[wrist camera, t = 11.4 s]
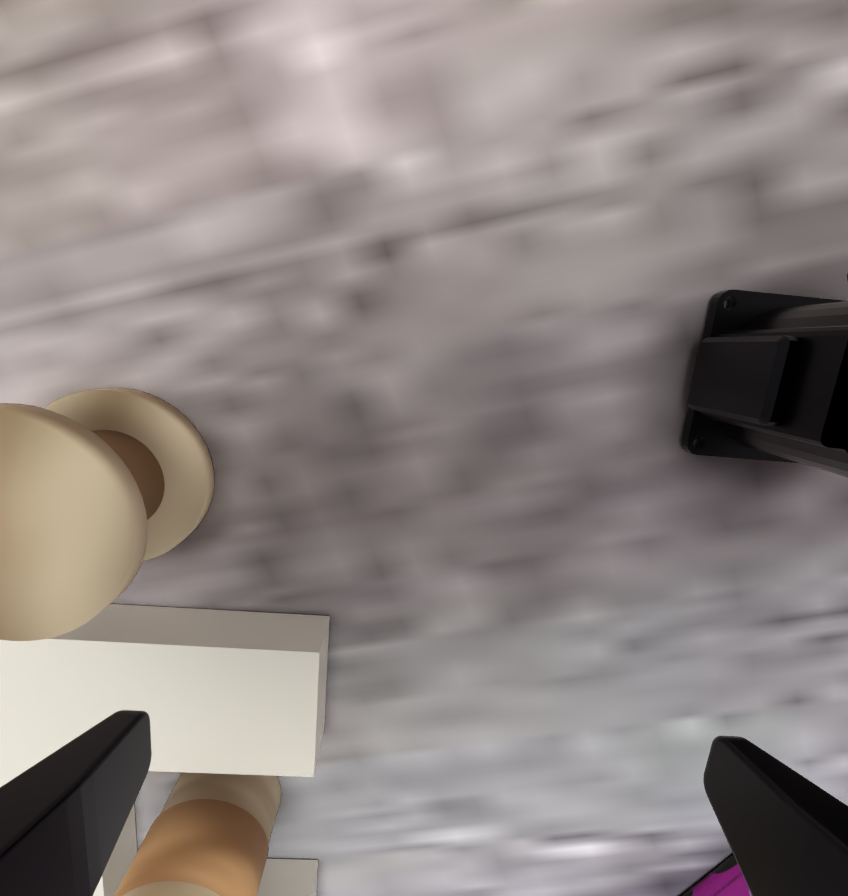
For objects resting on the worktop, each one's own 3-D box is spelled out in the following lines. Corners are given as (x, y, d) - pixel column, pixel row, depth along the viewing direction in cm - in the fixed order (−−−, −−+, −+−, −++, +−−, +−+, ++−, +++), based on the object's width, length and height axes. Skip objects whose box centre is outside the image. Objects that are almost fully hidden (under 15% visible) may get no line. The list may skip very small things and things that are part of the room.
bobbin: (213, 395, 18) (121, 418, 12) (215, 557, 20) (134, 646, 14) (29, 380, 18) (-156, 397, 12) (45, 547, 19) (-112, 634, 13)
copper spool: (284, 750, 22) (218, 971, 14) (281, 836, 23) (218, 1085, 15) (173, 746, 22) (43, 969, 14) (176, 833, 23) (57, 1085, 15)
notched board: (329, 616, 21) (319, 652, 18) (313, 946, 25) (303, 1011, 22) (26, 599, 20) (-27, 634, 17) (64, 942, 24) (26, 1009, 22)
